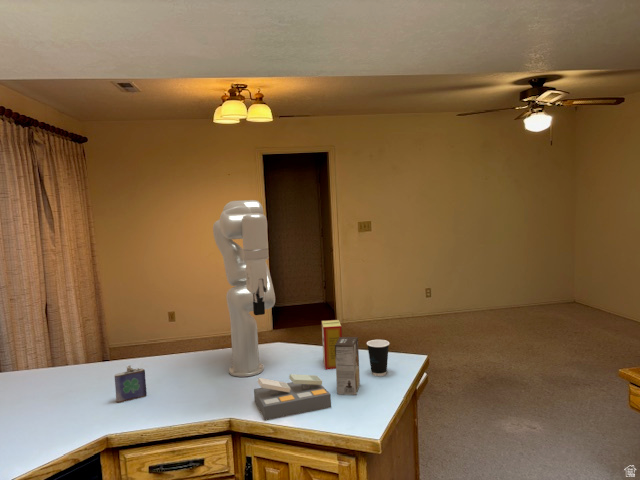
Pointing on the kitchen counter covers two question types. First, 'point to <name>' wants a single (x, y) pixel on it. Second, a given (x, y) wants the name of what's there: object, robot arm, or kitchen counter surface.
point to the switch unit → (291, 400)
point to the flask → (130, 384)
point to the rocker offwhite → (273, 385)
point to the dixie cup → (378, 356)
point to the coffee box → (347, 365)
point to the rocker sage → (305, 379)
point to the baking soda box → (330, 342)
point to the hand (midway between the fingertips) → (259, 314)
